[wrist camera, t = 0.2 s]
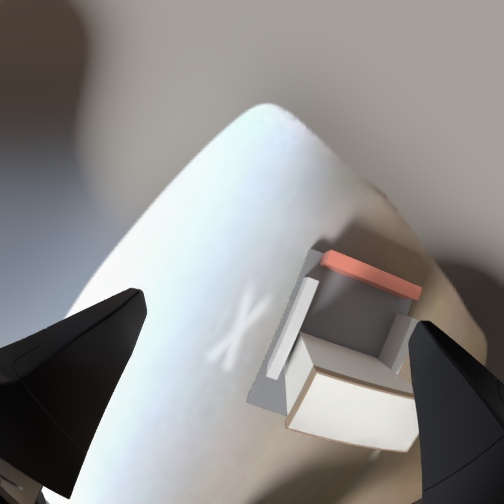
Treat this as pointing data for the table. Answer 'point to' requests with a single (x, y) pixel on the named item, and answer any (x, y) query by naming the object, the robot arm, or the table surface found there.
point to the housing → (339, 318)
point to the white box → (347, 397)
